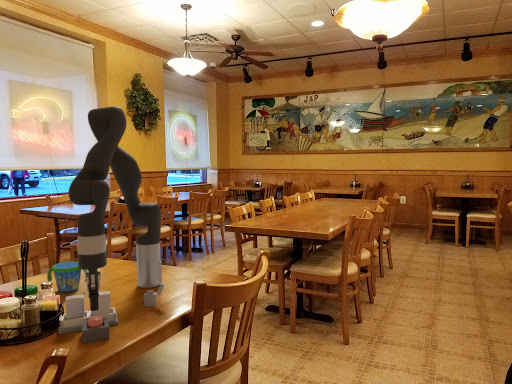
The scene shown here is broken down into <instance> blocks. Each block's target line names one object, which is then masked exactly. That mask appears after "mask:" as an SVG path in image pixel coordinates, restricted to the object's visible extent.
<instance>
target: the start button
mask: <svg viewBox="0 0 512 384" xmlns="http://www.w3.org/2000/svg"><path fill="white" fill-rule="evenodd" d="M100 326H103V317H102V316H94V317H91V318H89V319H88V328H93V327H100Z"/></svg>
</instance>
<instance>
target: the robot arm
mask: <svg viewBox="0 0 512 384" xmlns="http://www.w3.org/2000/svg"><path fill="white" fill-rule="evenodd" d="M87 121H88V125H89V128H90V130H91V133H92V135H93V136H94V138H95V140H96V141H97V142H95V144H94V145H92V147H91V148H90V149H89V150H88V152H87V154H86V157H85V159H84V160H85V161H84V162H83V163H84V164H83V166H82V168H81V170H80V171H79V172H78V174H77V175H76V176H75V177H74V178H73V180H72V181H71V183H70V185H69V188H68V198H69V200H70V202H71V203H72V204H74V205H76V206H95V207H94V209H93V211H90V212H85V213H81V214H80V215H78V216H77V219H76V221H77V222H76V223H77V246H76V249H77V262H78V267H79V268H80V269H83V270H85V269H86V270H87V271H88V273H86V274H84V275H85V277H84V279H85V278H86V282H85V283H86V291H87V292H88V298H89V311H90V310H91V311H96V310H98V309H99V304H98V297H99V293H98V292H99V290H101V278H102V277H101V275H102V274H101V271H98V270H99V269H102V268H105V267H106V266H107V264H108V262H107V261H108V259H107V239H106V232H105V230H106V228H105V227H106V226H105V218H106V210H107V206H108V204H109V199H110V195H111V189H110V185H109V184H108V182H107V181H105V180H106V179H107V178H108V176H109V171H110V169H111V171H112V174H113V177H114V178H115V181H116V184H117V185H118V188H119V189H120V191H121V194H122V197H123V199H124V202H125V206H126V208H127V212H128V214H129V217H130V219H131V220H130V221H131V222H132V223H133V225H135V226H139V227H147V230H146V232H144V233H141V234H139V235H137V236H136V237H135V245H136V246H135V249H136V251H135V252H136V273H137V274H136V276H137V278H136V280H137V287H139V288H143V289H144V288H146V289H149V288H154V287H158V286H159V287H160V285H161V283H162V282H163V272H162V270H163V269H162V260H161V233H162V232H161V231H162V228H161V225H162V222H161V221H162V212H161V207H160V205H159V204H158V203H154V202H153V203H151V202H142V201H140V199H139V195H138V193H139V190H140V187H141V184H142V180H143V176H142V172H141V169H140V167H139V164H138V162H137V160H136V159H135V158H134V157H133V156H132V155H131V154H130V153H128V152H127V151H126V150H125V149H123V148H122V147H120V146H119V144H120V142H121V140H122V138H123V137H124V134H125V131H126V129H127V124H128V123H127V117H126V113H125V112H124V109H123V108H121V107H120V106H119V105H117V106H116V105H113V106H111V105H110V106H105V107H97V108H94V109H90V110H89V111H88V113H87ZM83 270H82V271H83Z"/></svg>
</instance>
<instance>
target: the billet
mask: <svg viewBox="0 0 512 384" xmlns="http://www.w3.org/2000/svg"><path fill="white" fill-rule="evenodd" d="M85 304H86V302H85V294H83V293H82V294H75V295H74V294H73V295H67V296H65V314H66V319H67V320H70V319H76V318H83V317H85V311H86V305H85Z"/></svg>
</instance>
